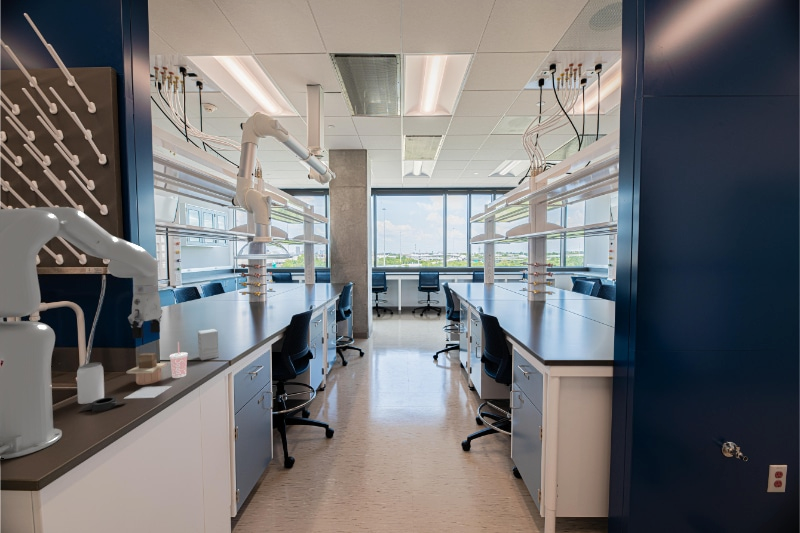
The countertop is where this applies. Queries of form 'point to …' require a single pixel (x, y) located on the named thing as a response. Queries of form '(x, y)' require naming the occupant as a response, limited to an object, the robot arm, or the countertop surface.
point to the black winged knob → (102, 404)
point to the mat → (148, 392)
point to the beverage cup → (178, 364)
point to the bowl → (148, 377)
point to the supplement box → (208, 344)
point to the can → (90, 383)
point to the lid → (147, 364)
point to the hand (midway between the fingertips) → (146, 335)
